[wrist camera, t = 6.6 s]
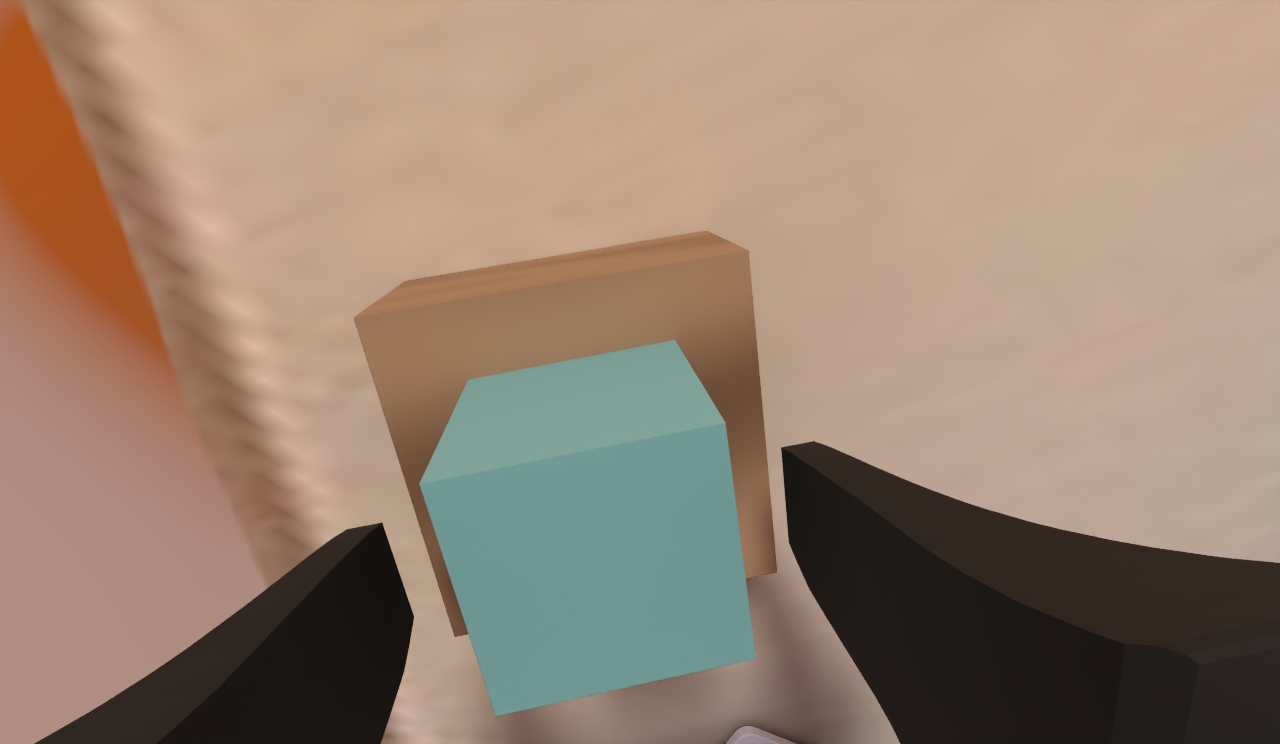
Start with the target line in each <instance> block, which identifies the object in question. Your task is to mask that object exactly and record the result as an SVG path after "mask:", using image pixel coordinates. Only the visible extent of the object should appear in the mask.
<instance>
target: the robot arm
mask: <svg viewBox="0 0 1280 744" xmlns="http://www.w3.org/2000/svg"><path fill="white" fill-rule="evenodd" d="M781 450H782V462H783V475H784V487H785V500H786V512H787V525H788V537H789V544H790V546H791V549H792V551H793V553H794V556H795V558H796V560H797V563H798V565H799V567H800V569H801V572H802V574H803V576H804V578H805V580H806V582H807V585H808V587H809V589H810V591H811V592H812V594H813V596H814V598H815V599H816V601H817V603H818V604H819V606H820V607H821V609H822V611H823V612H824V614H825V616H826V617H827V619H828V621H829V622H830V624H831V626H832V627H833V629H834V630H835V632H836V634H837V635H838V637H839V639H840V640H841V642H842V643H843V645H844V647H845V648H846V650H847V651H848V653H849V655H850V656H851V658H852V660H853V661H854V663H855V664H856V666H857V668H858V669H859V671H860V672H861V674H862V676H863V677H864V679H865V681H866V682H867V684H868V685H869V687H870V689H871V690H872V692H873V693H874V695H875V697H876V698H877V700H878V702H879V704H880V706H881V707H882V709H883V711H884V713H885V714H886V716H887V718H888V720H889V722H890V723H891V725H892V727H893V729H894V731H895V733H896V735H897V737H898V740H899V742H900V744H1280V563H1274V562H1263V561H1252V560H1242V559H1231V558H1223V557H1215V556H1207V555H1200V554H1193V553H1187V552H1180V551H1173V550H1166V549H1159V548H1152V547H1147V546H1141V545H1135V544H1130V543H1124V542H1118V541H1113V540H1108V539H1103V538H1098V537H1094V536H1089V535H1084V534H1080V533H1075V532H1070V531H1066V530H1061V529H1057V528H1052V527H1048V526H1044V525H1040V524H1036V523H1032V522H1028V521H1025V520H1022V519H1018V518H1015V517H1011V516H1008V515H1004V514H1001V513H997V512H994V511H990V510H987V509H984V508H980V507H977V506H974V505H971V504H968V503H965V502H962V501H960V500H957V499H954V498H951V497H949V496H946V495H943V494H940V493H938V492H935V491H932V490H929V489H927V488H924V487H922V486H919V485H917V484H914V483H912V482H909V481H907V480H904V479H902V478H900V477H897V476H895V475H893V474H890V473H888V472H886V471H883V470H881V469H879V468H876V467H874V466H872V465H870V464H867V463H865V462H863V461H861V460H858V459H856V458H854V457H852V456H849V455H847V454H845V453H842V452H840V451H838V450H836V449H833V448H831V447H828V446H826V445H823V444H820V443H817V442H814V441H813V442H808V443H803V444H797V445H792V446H787V447H781ZM413 620H414V615H413V612H412V609H411V607H410V604H409V601H408V598H407V595H406V592H405V589H404V586H403V583H402V580H401V577H400V574H399V571H398V568H397V565H396V562H395V559H394V556H393V554H392V551H391V548H390V545H389V542H388V539H387V536H386V533H385V530H384V527H383V524H382V523H378V524H373V525H368V526H363V527H357V528H352V529H347V530H345V531H344V532H342V533H340V534H339V535H337V536H336V537H334V538H333V539H331V540H330V541H328V542H327V543H326V544H324V545H323V546H322V547H320V548H319V549H318V550H316V551H315V552H314V553H312V554H311V555H310V556H308V557H307V558H306V559H305V560H303V561H302V562H301V563H299V564H298V565H297V566H296V567H294V568H293V569H292V570H290V571H289V572H288V573H287V574H285V575H284V576H283V577H282V578H280V579H279V580H278V581H276V582H275V583H274V584H273V585H271V586H270V587H269V588H267V589H266V590H265V591H264V592H262V593H261V594H260V595H258V596H257V597H256V598H255V599H253V600H252V601H251V602H250V603H248V604H247V605H246V606H244V607H243V608H242V609H240V610H239V611H238V612H236V613H235V614H233V615H232V616H231V617H230V618H228V619H227V620H225V621H224V622H223V623H221V624H220V625H218V626H217V627H216V628H214V629H213V630H212V631H210V632H209V633H208V634H206V635H205V636H204V637H202V638H201V639H200V640H198V641H197V642H195V643H194V644H193V645H191V646H190V647H188V648H187V649H186V650H184V651H183V652H182V653H180V654H179V655H177V656H176V657H174V658H173V659H171V660H170V661H168V662H167V663H165V664H164V665H162V666H161V667H159V668H158V669H156V670H155V671H154V672H152V673H151V674H149V675H148V676H146V677H145V678H143V679H141V680H140V681H138V682H137V683H135V684H133V685H132V686H130V687H129V688H127V689H126V690H124V691H122V692H121V693H119V694H118V695H116V696H115V697H113V698H112V699H110V700H109V701H107V702H105V703H104V704H102V705H100V706H99V707H97V708H95V709H94V710H92V711H91V712H89V713H87V714H86V715H84V716H82V717H80V718H78V719H77V720H75V721H73V722H71V723H70V724H68V725H66V726H64V727H63V728H61V729H59V730H58V731H56V732H54V733H52V734H51V735H49V736H47V737H45V738H43V739H42V740H40V741H38V742H36V743H35V744H381V741H382V738H383V735H384V732H385V729H386V726H387V723H388V720H389V717H390V714H391V711H392V708H393V704H394V701H395V698H396V695H397V692H398V689H399V686H400V683H401V680H402V676H403V673H404V669H405V664H406V659H407V654H408V649H409V644H410V638H411V632H412V626H413ZM726 744H796V743H794V742H791V741H789V740H786V739H783V738H781V737H778V736H776V735H773V734H771V733H768V732H766V731H763V730H760V729H758V728H755V727H752V726H743V727H741V728H739V729H738V730H737V731H735V733H734V734H733V735H732V736H731V738H730V739H729V740H728V741H727V743H726Z"/></svg>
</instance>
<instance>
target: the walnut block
mask: <svg viewBox="0 0 1280 744" xmlns="http://www.w3.org/2000/svg"><path fill="white" fill-rule="evenodd" d="M354 321H355V324H356V327H357V330H358V333H359V336H360V340H361V343H362V346H363V349H364V352H365V355H366V358H367V362H368V365H369V368H370V371H371V374H372V377H373V381H374V384H375V387H376V390H377V393H378V396H379V399H380V403H381V406H382V409H383V412H384V415H385V418H386V422H387V425H388V428H389V431H390V434H391V437H392V440H393V444H394V447H395V450H396V453H397V456H398V459H399V463H400V466H401V469H402V472H403V475H404V478H405V481H406V485H407V488H408V491H409V494H410V497H411V500H412V504H413V507H414V510H415V513H416V516H417V519H418V522H419V526H420V529H421V532H422V535H423V538H424V541H425V545H426V548H427V551H428V554H429V557H430V560H431V563H432V567H433V570H434V573H435V576H436V579H437V582H438V586H439V589H440V592H441V595H442V598H443V601H444V604H445V608H446V611H447V614H448V617H449V620H450V623H451V627H452V630H453V633H454V636H455V637H457V636H462V635H467V634H468V631H467V628H466V624H465V621H464V618H463V615H462V612H461V609H460V606H459V603H458V600H457V597H456V594H455V591H454V588H453V585H452V582H451V579H450V576H449V573H448V570H447V567H446V563H445V560H444V557H443V554H442V551H441V548H440V545H439V542H438V539H437V536H436V533H435V530H434V527H433V524H432V521H431V518H430V515H429V512H428V509H427V506H426V503H425V499H424V496H423V493H422V490H421V487H420V481H421V479H422V477H423V475H424V473H425V471H426V469H427V467H428V464H429V462H430V460H431V458H432V456H433V454H434V452H435V449H436V447H437V445H438V443H439V441H440V439H441V437H442V435H443V432H444V430H445V428H446V426H447V424H448V422H449V420H450V417H451V415H452V413H453V411H454V409H455V407H456V405H457V403H458V400H459V398H460V396H461V394H462V392H463V390H464V388H465V386H466V383H467V381H468V380H470V379H475V378H480V377H485V376H490V375H496V374H501V373H506V372H511V371H516V370H522V369H527V368H532V367H537V366H542V365H548V364H553V363H558V362H563V361H568V360H574V359H579V358H584V357H589V356H594V355H600V354H605V353H610V352H615V351H620V350H626V349H631V348H636V347H641V346H646V345H652V344H657V343H662V342H667V341H672V340H675V341H676V342H677V344H678V346H679V347H680V349H681V351H682V352H683V354H684V355H685V357H686V359H687V360H688V362H689V364H690V365H691V367H692V369H693V370H694V372H695V374H696V375H697V377H698V378H699V380H700V382H701V383H702V385H703V387H704V388H705V390H706V392H707V393H708V395H709V396H710V398H711V400H712V401H713V403H714V405H715V406H716V408H717V410H718V411H719V413H720V414H721V416H722V418H723V419H724V421H725V423H726V431H727V438H728V446H729V454H730V461H731V469H732V477H733V485H734V492H735V500H736V508H737V516H738V523H739V531H740V539H741V546H742V554H743V562H744V570H745V577H746V578H751V577H756V576H761V575H766V574H771V573H776V572H777V566H776V554H775V543H774V532H773V521H772V509H771V498H770V487H769V476H768V464H767V453H766V442H765V431H764V419H763V408H762V397H761V386H760V375H759V363H758V352H757V341H756V330H755V318H754V307H753V296H752V285H751V273H750V262H749V251H748V250H746V249H744V248H742V247H740V246H738V245H735V244H733V243H731V242H729V241H727V240H725V239H723V238H721V237H719V236H716V235H714V234H712V233H710V232H708V231H703V232H697V233H691V234H685V235H679V236H673V237H667V238H661V239H655V240H649V241H643V242H637V243H631V244H625V245H619V246H613V247H608V248H602V249H596V250H590V251H584V252H578V253H572V254H566V255H560V256H554V257H548V258H542V259H536V260H530V261H524V262H518V263H512V264H506V265H500V266H494V267H488V268H482V269H476V270H470V271H464V272H458V273H452V274H446V275H440V276H434V277H428V278H422V279H416V280H410V281H405V282H403V283H402V284H400V285H399V286H398V287H396V288H395V289H393V290H392V291H391V292H389V293H388V294H386V295H385V296H383V297H382V298H381V299H379V300H378V301H376V302H375V303H374V304H372V305H371V306H369V307H368V308H367V309H365V310H364V311H362V312H361V313H359V314H358V315H357V316H355V317H354Z"/></svg>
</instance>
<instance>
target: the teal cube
mask: <svg viewBox="0 0 1280 744" xmlns="http://www.w3.org/2000/svg"><path fill="white" fill-rule="evenodd" d="M420 487H421V490H422V493H423V496H424V499H425V503H426V506H427V509H428V512H429V515H430V518H431V521H432V524H433V527H434V530H435V533H436V536H437V539H438V542H439V545H440V548H441V551H442V554H443V557H444V560H445V563H446V567H447V570H448V573H449V576H450V579H451V582H452V585H453V588H454V591H455V594H456V597H457V600H458V603H459V606H460V609H461V612H462V615H463V618H464V621H465V624H466V628H467V631H468V634H469V637H470V640H471V643H472V646H473V649H474V652H475V655H476V658H477V661H478V664H479V667H480V670H481V673H482V676H483V679H484V682H485V685H486V688H487V692H488V695H489V698H490V701H491V704H492V707H493V710H494V713H495V716H500V715H504V714H509V713H514V712H518V711H523V710H527V709H532V708H536V707H541V706H545V705H550V704H554V703H559V702H563V701H568V700H572V699H577V698H581V697H586V696H590V695H595V694H600V693H604V692H609V691H613V690H618V689H622V688H627V687H631V686H636V685H640V684H645V683H649V682H654V681H658V680H663V679H667V678H672V677H676V676H681V675H685V674H690V673H695V672H699V671H704V670H708V669H713V668H717V667H722V666H726V665H731V664H735V663H740V662H744V661H749V660H753V659H756V654H755V647H754V639H753V631H752V624H751V616H750V608H749V600H748V593H747V585H746V577H745V570H744V562H743V554H742V546H741V539H740V531H739V523H738V516H737V508H736V500H735V492H734V485H733V477H732V469H731V461H730V454H729V446H728V438H727V431H726V423H725V421H724V419H723V418H722V416H721V414H720V413H719V411H718V410H717V408H716V406H715V405H714V403H713V401H712V400H711V398H710V396H709V395H708V393H707V392H706V390H705V388H704V387H703V385H702V383H701V382H700V380H699V378H698V377H697V375H696V374H695V372H694V370H693V369H692V367H691V365H690V364H689V362H688V360H687V359H686V357H685V355H684V354H683V352H682V351H681V349H680V347H679V346H678V344H677V342H676V341H675V340H672V341H667V342H662V343H657V344H652V345H646V346H641V347H636V348H631V349H626V350H620V351H615V352H610V353H605V354H600V355H594V356H589V357H584V358H579V359H574V360H568V361H563V362H558V363H553V364H548V365H542V366H537V367H532V368H527V369H522V370H516V371H511V372H506V373H501V374H496V375H490V376H485V377H480V378H475V379H470V380H468V381H467V383H466V386H465V388H464V390H463V392H462V394H461V396H460V398H459V400H458V403H457V405H456V407H455V409H454V411H453V413H452V415H451V417H450V420H449V422H448V424H447V426H446V428H445V430H444V432H443V435H442V437H441V439H440V441H439V443H438V445H437V447H436V449H435V452H434V454H433V456H432V458H431V460H430V462H429V464H428V467H427V469H426V471H425V473H424V475H423V477H422V479H421V481H420Z"/></svg>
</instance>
